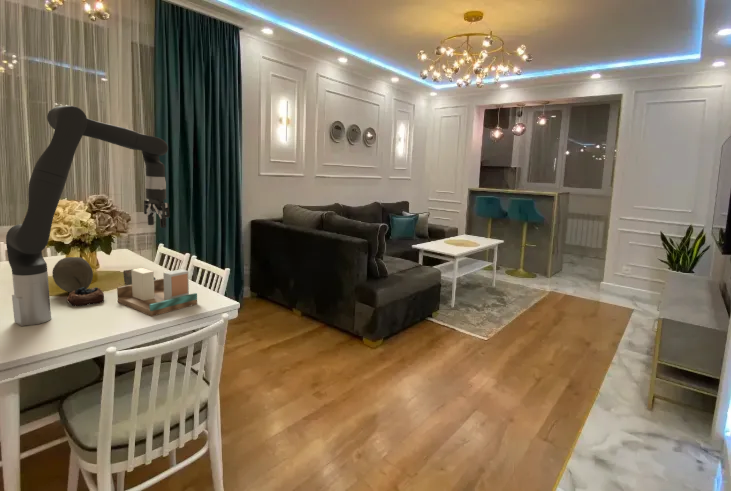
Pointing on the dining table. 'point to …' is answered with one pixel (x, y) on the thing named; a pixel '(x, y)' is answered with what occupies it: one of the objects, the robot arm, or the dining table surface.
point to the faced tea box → (176, 284)
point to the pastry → (85, 297)
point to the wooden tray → (154, 300)
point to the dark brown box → (129, 277)
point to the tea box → (143, 284)
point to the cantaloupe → (72, 273)
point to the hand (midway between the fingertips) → (156, 226)
